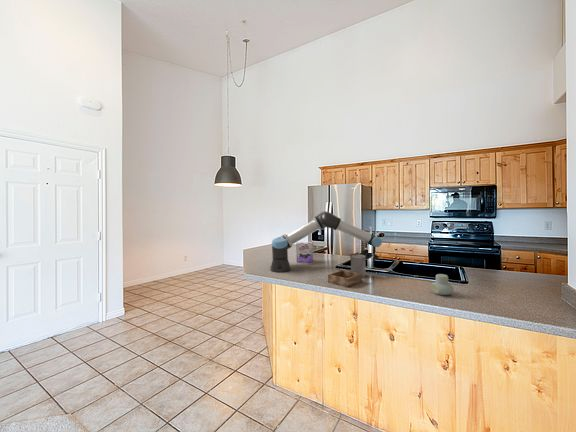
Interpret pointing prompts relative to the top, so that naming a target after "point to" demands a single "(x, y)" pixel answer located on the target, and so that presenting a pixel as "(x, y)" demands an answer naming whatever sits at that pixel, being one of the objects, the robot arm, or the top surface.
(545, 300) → the top surface
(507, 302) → the top surface
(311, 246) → the candy box
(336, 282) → the walnut crate
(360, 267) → the pillar candle
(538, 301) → the top surface
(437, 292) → the air freshener
